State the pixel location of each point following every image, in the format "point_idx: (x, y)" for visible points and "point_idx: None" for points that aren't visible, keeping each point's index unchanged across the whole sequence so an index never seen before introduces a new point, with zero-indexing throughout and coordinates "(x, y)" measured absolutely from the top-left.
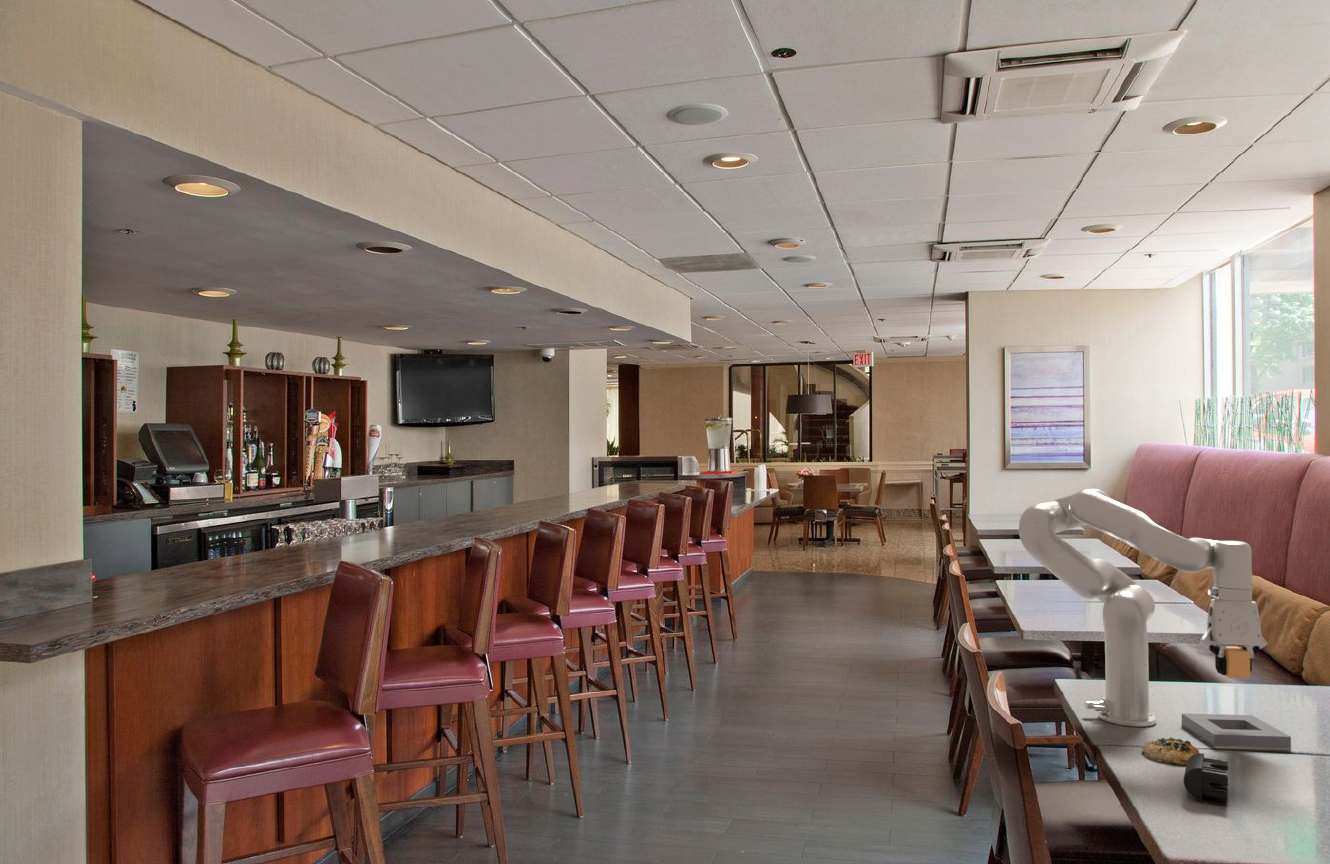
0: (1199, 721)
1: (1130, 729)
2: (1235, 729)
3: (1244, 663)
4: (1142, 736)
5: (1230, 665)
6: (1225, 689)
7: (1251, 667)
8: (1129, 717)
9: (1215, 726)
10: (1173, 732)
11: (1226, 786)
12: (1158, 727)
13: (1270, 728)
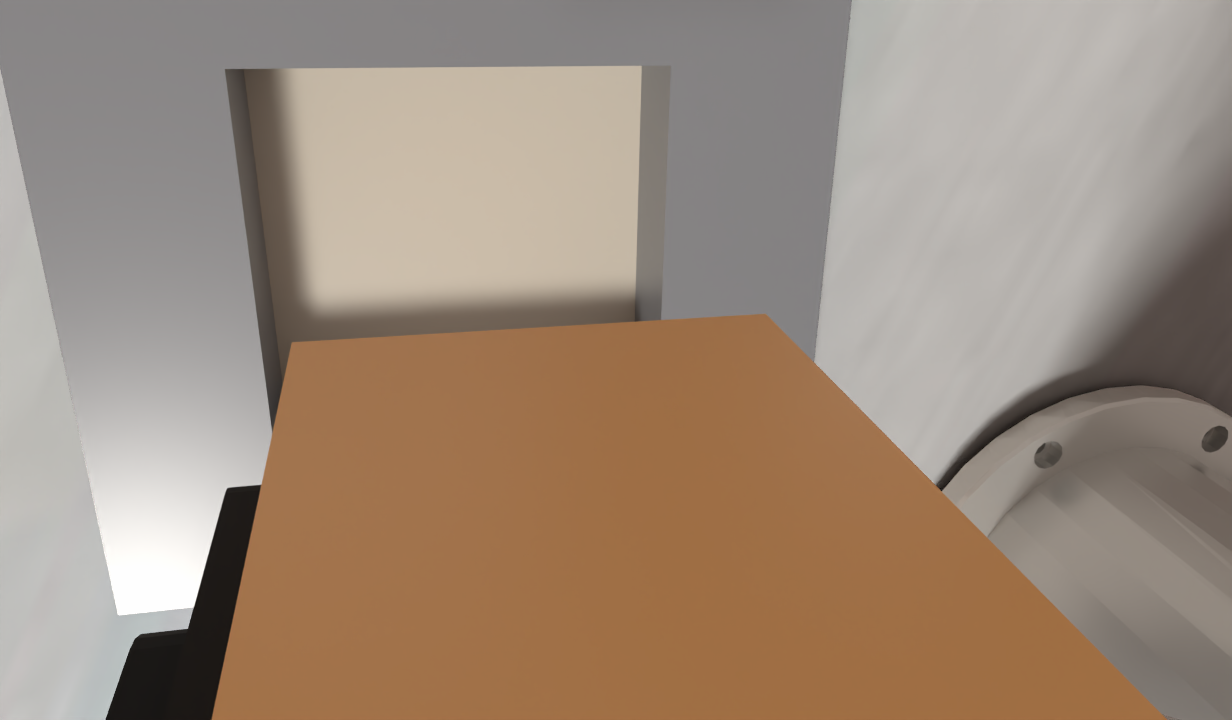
0: (767, 314)
1: (1192, 330)
2: (533, 66)
3: (447, 534)
4: (1215, 156)
5: (860, 453)
6: None
7: (129, 681)
8: (1182, 461)
9: (698, 156)
10: (911, 303)
11: None
12: (955, 417)
13: (91, 151)
